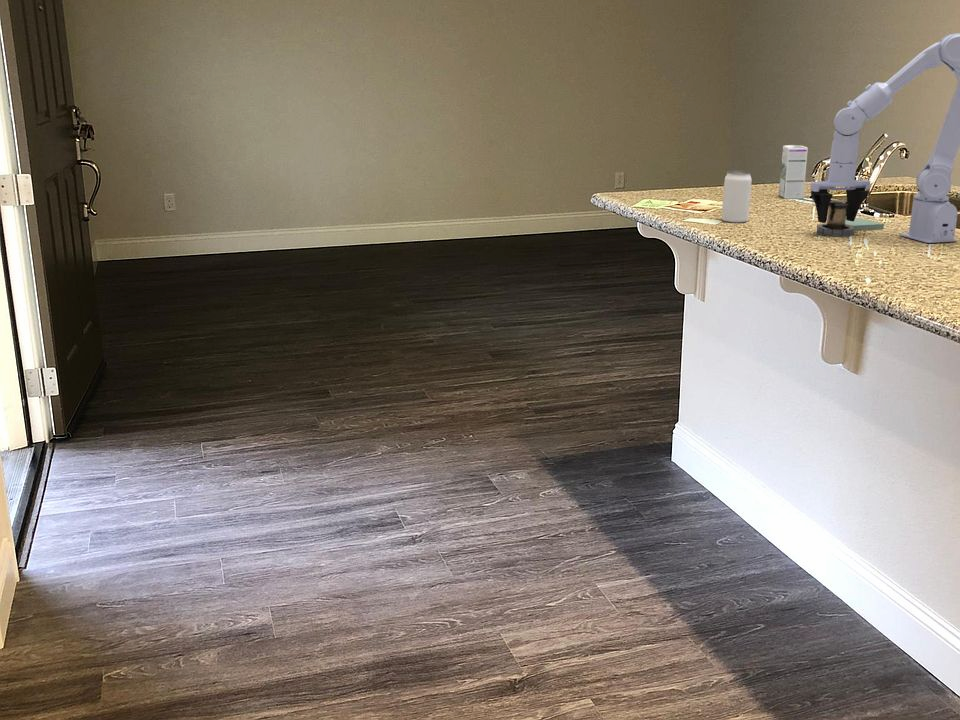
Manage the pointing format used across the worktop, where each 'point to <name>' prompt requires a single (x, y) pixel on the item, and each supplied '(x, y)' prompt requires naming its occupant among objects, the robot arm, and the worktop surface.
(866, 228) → the pad
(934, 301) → the worktop surface
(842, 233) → the collar
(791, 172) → the syrup box
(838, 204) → the hook peg
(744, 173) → the can
